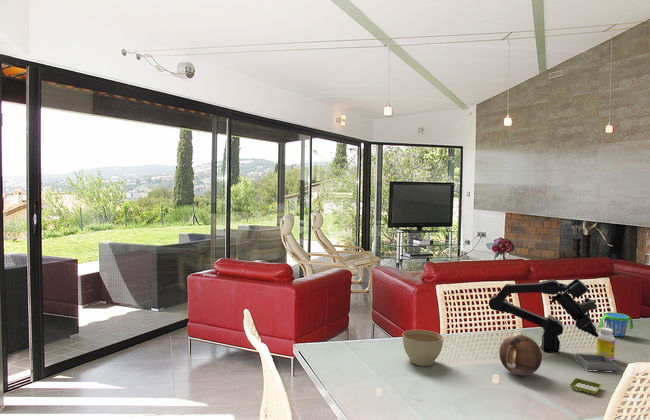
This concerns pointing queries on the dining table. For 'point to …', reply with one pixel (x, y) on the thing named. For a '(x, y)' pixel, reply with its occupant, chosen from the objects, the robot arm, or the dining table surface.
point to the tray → (596, 362)
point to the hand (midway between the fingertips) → (596, 333)
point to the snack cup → (616, 323)
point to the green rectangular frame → (585, 384)
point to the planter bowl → (422, 346)
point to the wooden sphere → (520, 355)
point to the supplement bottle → (606, 343)
